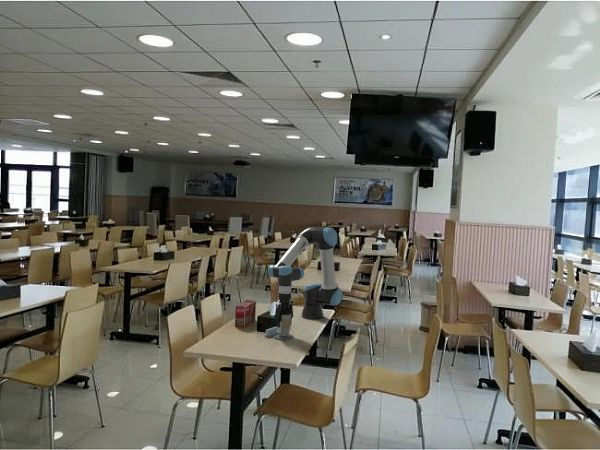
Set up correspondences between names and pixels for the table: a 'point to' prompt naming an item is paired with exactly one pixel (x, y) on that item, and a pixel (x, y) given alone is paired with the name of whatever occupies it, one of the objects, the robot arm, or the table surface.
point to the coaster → (283, 337)
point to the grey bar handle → (271, 332)
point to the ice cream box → (245, 313)
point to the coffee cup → (285, 322)
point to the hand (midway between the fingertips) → (283, 331)
